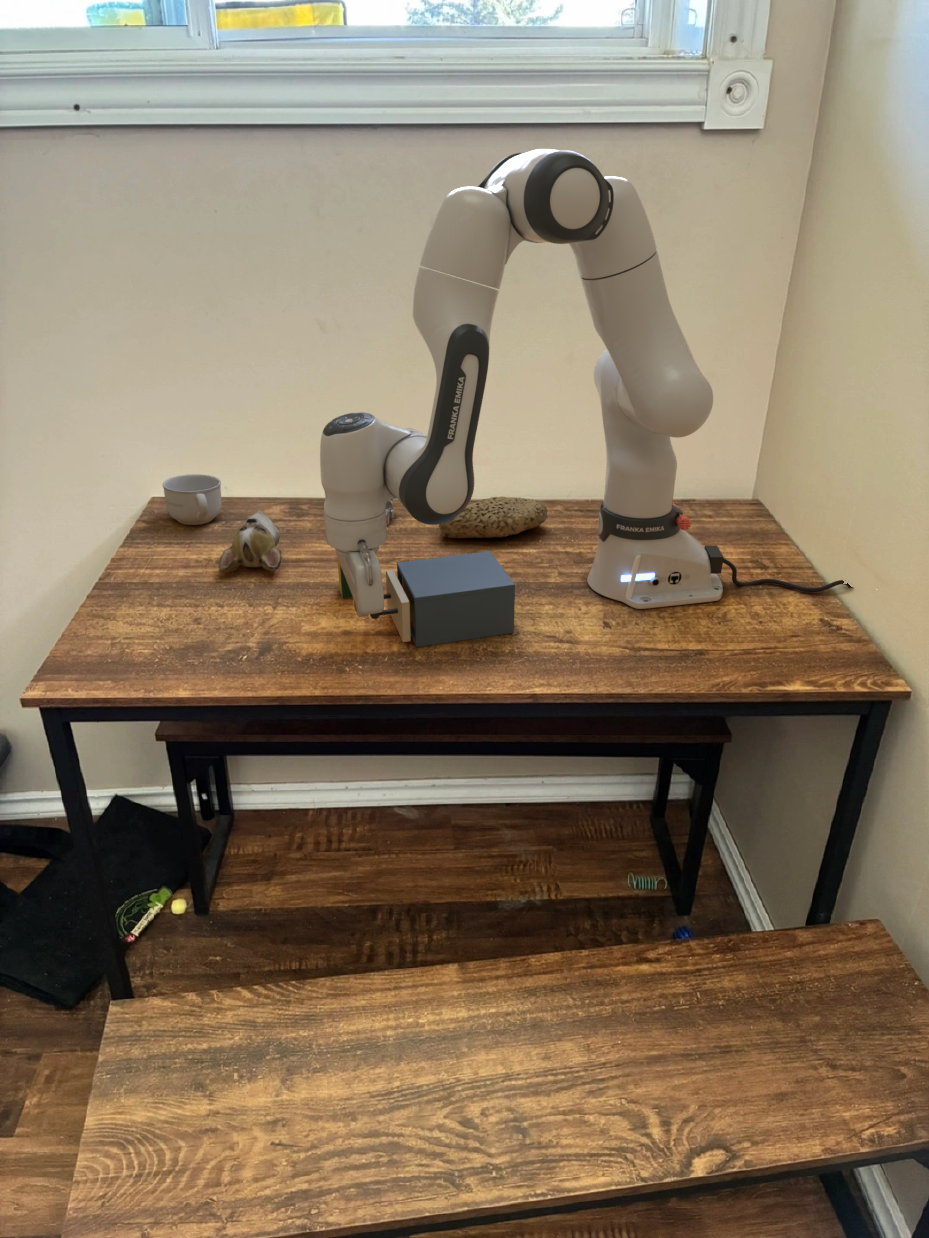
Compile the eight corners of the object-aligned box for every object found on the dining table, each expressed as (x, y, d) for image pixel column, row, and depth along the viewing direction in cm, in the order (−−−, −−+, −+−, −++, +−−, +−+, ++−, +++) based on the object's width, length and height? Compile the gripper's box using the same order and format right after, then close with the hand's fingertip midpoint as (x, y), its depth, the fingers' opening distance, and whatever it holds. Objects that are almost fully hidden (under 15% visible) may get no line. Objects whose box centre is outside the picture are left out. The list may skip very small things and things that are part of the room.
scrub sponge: (366, 586, 149) (363, 537, 145) (369, 595, 146) (367, 545, 142) (339, 590, 148) (336, 541, 144) (342, 598, 145) (339, 548, 141)
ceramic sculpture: (287, 501, 159) (273, 540, 146) (293, 544, 164) (279, 585, 151) (228, 502, 159) (209, 540, 146) (235, 544, 163) (217, 585, 151)
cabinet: (416, 647, 132) (415, 597, 128) (398, 609, 142) (396, 562, 138) (513, 633, 136) (515, 584, 131) (489, 597, 146) (490, 551, 142)
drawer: (375, 646, 130) (373, 606, 127) (361, 611, 140) (359, 573, 136) (494, 629, 135) (495, 590, 132) (473, 596, 144) (473, 559, 141)
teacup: (168, 512, 177) (162, 474, 174) (223, 506, 180) (218, 469, 176) (169, 539, 166) (162, 499, 162) (228, 532, 169) (223, 493, 165)
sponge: (441, 551, 164) (547, 536, 161) (433, 511, 162) (541, 494, 158) (452, 536, 177) (551, 521, 173) (445, 497, 174) (544, 481, 171)
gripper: (392, 555, 119) (396, 643, 125) (364, 501, 136) (369, 581, 143) (346, 560, 117) (352, 649, 124) (323, 505, 134) (330, 586, 141)
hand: (361, 612), depth 133 cm, fingers closed, pressing on drawer
